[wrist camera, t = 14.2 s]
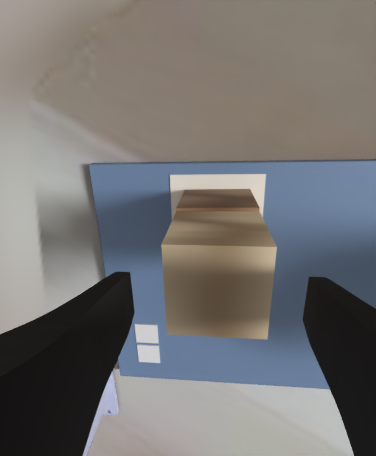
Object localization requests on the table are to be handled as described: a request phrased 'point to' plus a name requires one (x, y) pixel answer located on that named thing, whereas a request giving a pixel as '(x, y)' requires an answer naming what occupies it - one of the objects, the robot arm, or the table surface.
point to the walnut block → (218, 200)
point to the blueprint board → (284, 264)
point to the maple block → (218, 274)
